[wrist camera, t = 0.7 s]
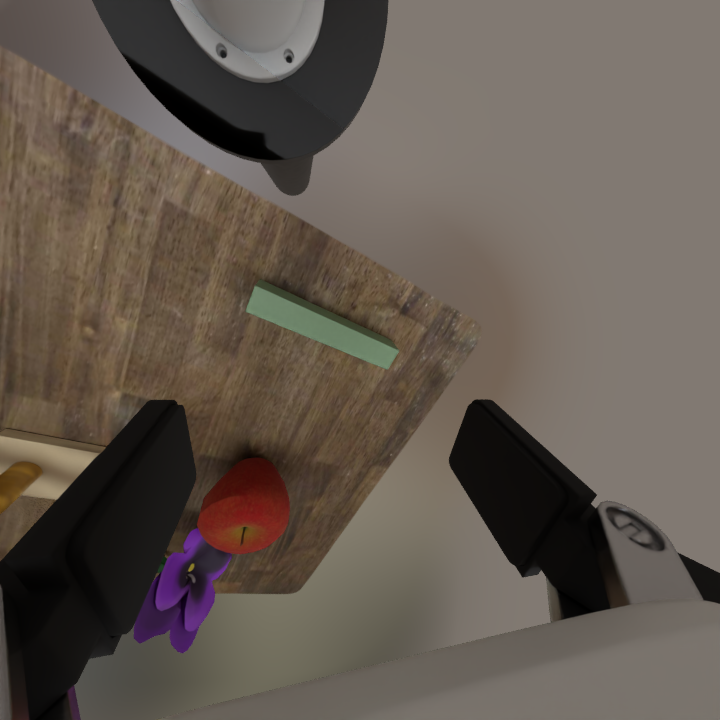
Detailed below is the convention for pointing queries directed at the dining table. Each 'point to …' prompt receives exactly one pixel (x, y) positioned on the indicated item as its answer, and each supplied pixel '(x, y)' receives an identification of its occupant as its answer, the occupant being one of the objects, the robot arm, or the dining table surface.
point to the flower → (182, 593)
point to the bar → (320, 324)
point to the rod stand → (40, 465)
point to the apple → (245, 508)
